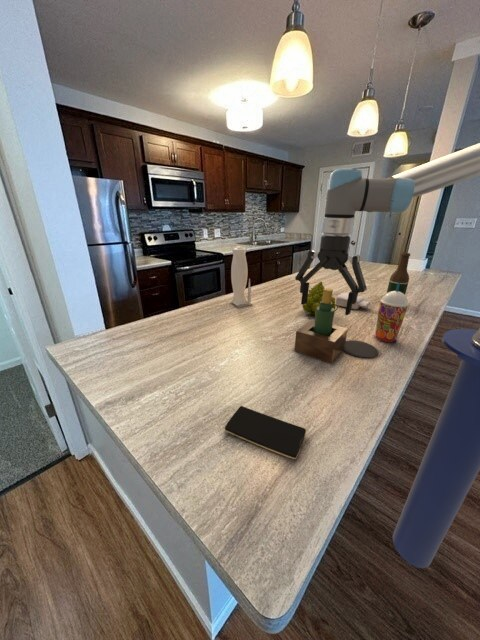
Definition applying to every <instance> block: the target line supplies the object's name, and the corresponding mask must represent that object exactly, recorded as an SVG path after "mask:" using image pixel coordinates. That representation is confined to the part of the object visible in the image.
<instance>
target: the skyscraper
mask: <svg viewBox="0 0 480 640" xmlns="http://www.w3.org/2000/svg"><path fill="white" fill-rule="evenodd" d="M233 246H235V247H234V248H233ZM230 247H231V250H232V251H231V252H232V261H231V268H230V269H231V270H230V279H231V287H232V292H233V295H232V299H231V304H232V305H234V307H237V308H238V309H239V308H243V307H250V306H252V305H253V304H252V287H251V278H248V277H249V276H248V274H249V273H248V271H249V270H248V262H247V256H246V253H247V249H248V248H247V246H244V245H243V246H242V245H241V244H239V243H231V244H230ZM247 282H248V287H247ZM246 287H247V300H246V296H245V292H246Z"/></svg>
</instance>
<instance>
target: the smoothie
mask: <svg viewBox="0 0 480 640" xmlns="http://www.w3.org/2000/svg"><path fill="white" fill-rule="evenodd" d="M399 286H400V283H398V284H397V288H396V291H391V292H388V293H387V292H386V293H385V294H384V295H383V296H382V297H381V298H380V299H379V300H380V301H379V306H378V312H377V319H376V326H375V327H376V328H375V333H374V334H375V337H376V338H377V340H378V341H382V342H385V343H393V342H395V340H396V339H397V338H398V335H399V333H400V330H401V327H402V324H403V321H404V319H405V316H406V314H407V310H408V308H409V305H410V303H409V301H408V298H407V295H406V294H405V295H404V294H403V293H402V292H399V291H398V290H399Z"/></svg>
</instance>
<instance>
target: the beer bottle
mask: <svg viewBox="0 0 480 640" xmlns="http://www.w3.org/2000/svg"><path fill="white" fill-rule="evenodd" d="M410 257H411V253H410V252H401V253H400V258H399V262H398V265H397V267H396V270H394V272H392V274H391V275H390V277H389V282H388V284H387V285H388V286H387V290H386V293H388V292H391V291H396V288H397V284H398V283H400V286H399V290H398V291H399V292H402V293H403V294H404V295H405V296H406V293H407V290H408V286H409V281H410V275H409V272H408V266H409V261H410Z"/></svg>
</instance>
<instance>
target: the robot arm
mask: <svg viewBox="0 0 480 640" xmlns="http://www.w3.org/2000/svg"><path fill="white" fill-rule="evenodd" d="M479 176H480V142H479V143H476V144H474V145H470V146H468V147H465V148H463V149H461V150H457V151H455V152H452V153H449V154H447V155H445V156H441V157H439V158H437V159H433V160H430V161H428V162H427V163H423V164H421V165H418V166H416V167H415V166H414V167H413V168H411V169H408V170H405V171H402V172H400V173H398V174H395V175H394V174H393V175H392V176H389V177H387V178H366V177H363V171H362V170H361V169H360V168H352V167H348V168H347V167H346V168H338V169H335V170H333V171H332V172H331V173H330V174H329V179H328V185H327V191H326V200H325V208H324V217H323V222H322V230H321V232H322V233H323V234H322V235H321V237H320V245H319V251H316V250H314V249H313V250H309V251H308V252H307V257H306V259H305V261H304V262H303V265H302V266H301V267H300V269H299V271H298V273H296V275H295V278H294V280H296V281H298V282H299V283H300V286H299V293H300V294H301V301H300V305H302V306H303V305H304V304H305V303H307V298H308V294H309V290H310V282H308V281H309V280H310V279H312V278H313V276H314V275H316V274H317V273H318V272H319V271H320V270H321V269H324V270H330V271H337V270H338V271H337V272H339V273H340V274H341V276H342V278H343V279H344V281H345V283H346V284H347V286H348V287H349V289H350V291H349V292H348V294H349V295H348V301H347V306H346V307H345V311H344V315H345V316H349V315H350V314H351V313H352V309H351V308H352V304H355V303H356V302H357V297H358V296H359V293H364V292H365V291H367V290H368V289H367V284H366V281H365V277H364V274H363V272H362V267H361V265H360V261H361V260H360V259H361V256H360V254H356V255H349V249H350V243H351V236H350V235H351V234H353V233H352V232H353V226H354V220H355V214H356V212H366V213H373V212H374V213H392V214H393V213H403V212H405V211H406V210H407V209H408V208H409V207H410V205H411V203H412V200H413V199H414V198H417V197H420V196H423V195H425V194H429V193H433V192H435V191H438V190H441V189H444V188H446V187H450V186H453V185H456V184H458V183H461V182H464V181H466V180H469V179H473V178H476V177H479ZM316 258H317V259H318V261H319V262H317V263H316V265H314V267H313V268H312V269H311V270H310V271H309V272H308V273H307V274H306V272H307V271H308V269H309V268H310V267H311V265H312V263H313V262H314V260H315V259H316ZM348 261H349V263H350V264H351V267H352V270H353V274H354V277H355V279H354V277H353V275H352V274H351V272H350V271H349V270H348V267H347V265H346V263H347V262H348ZM477 330H478V331H477V332H476V333H475V334H474V335H473V337H472V339H471V343H472V344H473V345H474V346H475V347H476V348H478V349H480V328H478V329H477Z"/></svg>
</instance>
